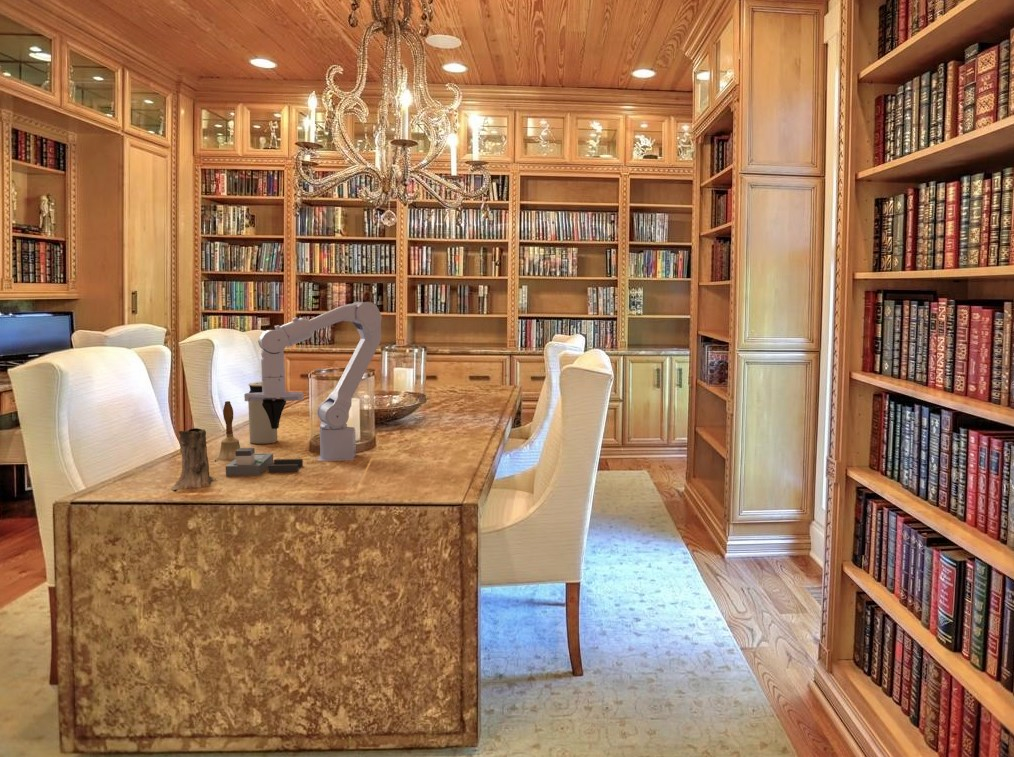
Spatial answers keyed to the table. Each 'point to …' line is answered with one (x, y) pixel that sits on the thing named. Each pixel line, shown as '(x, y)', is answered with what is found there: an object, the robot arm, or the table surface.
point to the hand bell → (228, 436)
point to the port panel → (250, 466)
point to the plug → (245, 456)
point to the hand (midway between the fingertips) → (275, 428)
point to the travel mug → (259, 420)
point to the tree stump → (193, 460)
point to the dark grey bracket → (285, 466)
